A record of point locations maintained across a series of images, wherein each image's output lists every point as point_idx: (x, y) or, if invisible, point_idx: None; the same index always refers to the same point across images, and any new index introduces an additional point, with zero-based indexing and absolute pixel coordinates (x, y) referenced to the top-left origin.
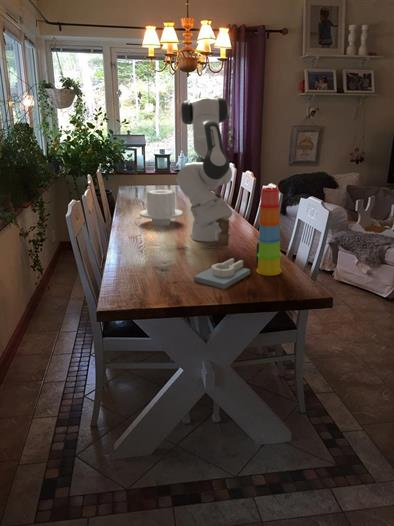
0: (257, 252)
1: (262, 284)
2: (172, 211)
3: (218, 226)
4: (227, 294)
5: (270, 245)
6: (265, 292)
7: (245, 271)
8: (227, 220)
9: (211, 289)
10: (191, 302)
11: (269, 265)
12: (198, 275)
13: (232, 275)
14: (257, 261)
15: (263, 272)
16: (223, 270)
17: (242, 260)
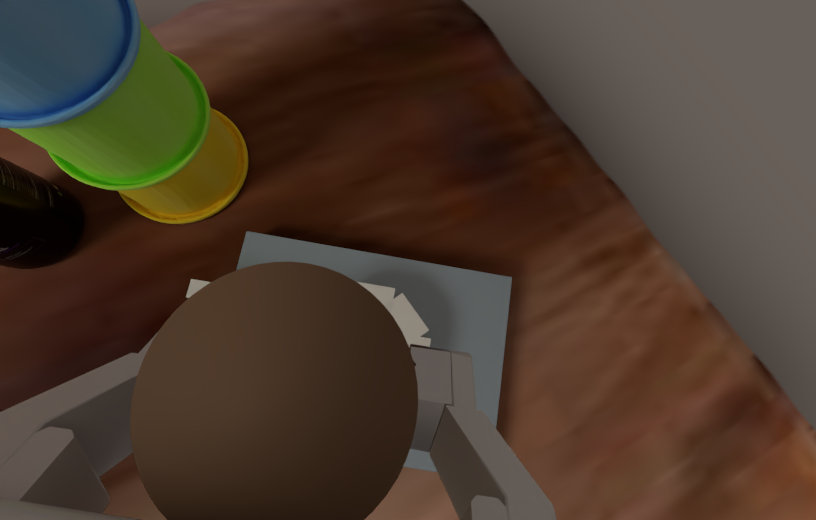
0: (3, 237)
1: (368, 147)
2: None
3: (479, 423)
4: (551, 245)
5: (143, 28)
6: (451, 114)
7: (289, 243)
8: (318, 281)
9: (537, 333)
10: (709, 351)
11: (217, 122)
12: None
13: (380, 284)
14: (62, 247)
15: (234, 172)
16: (420, 321)
17: (191, 283)
